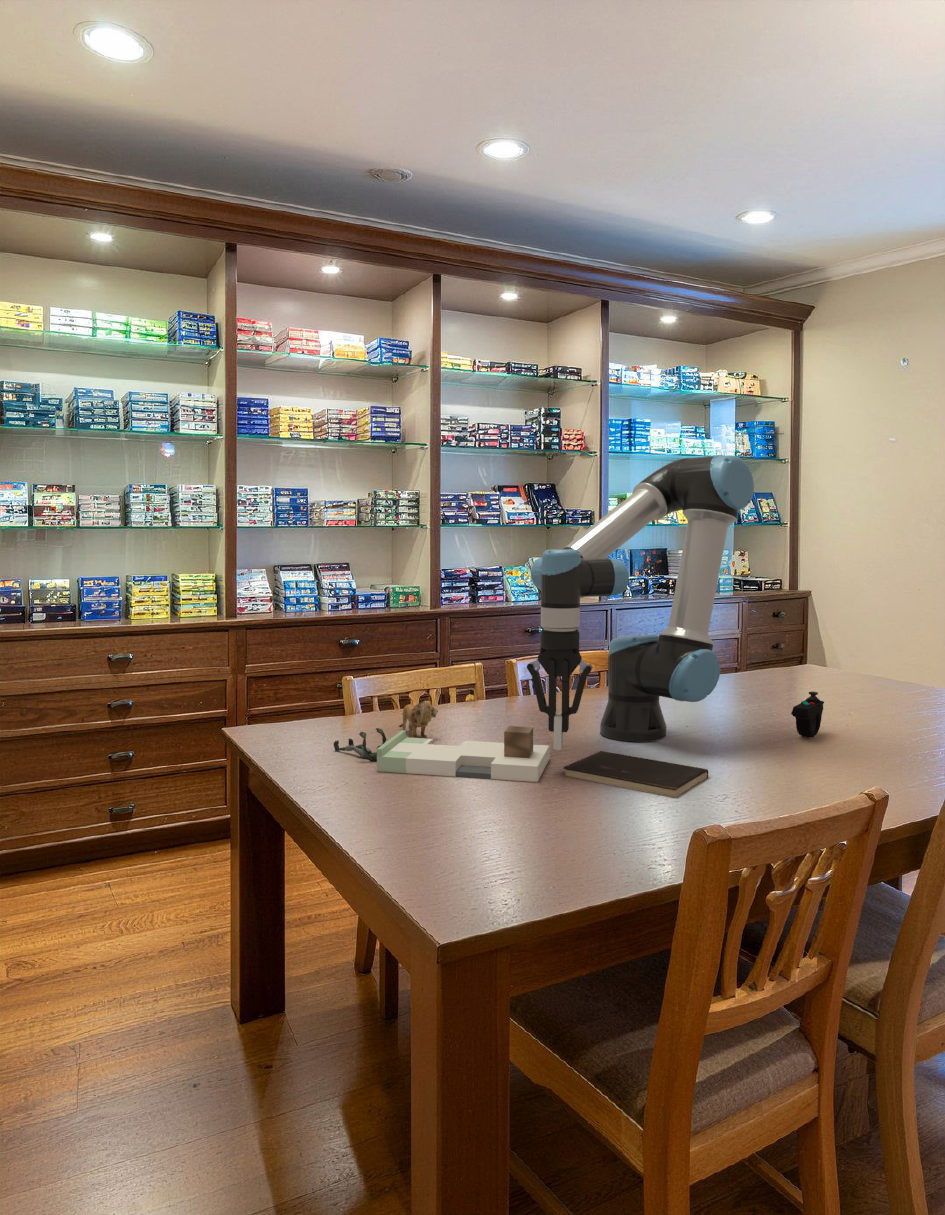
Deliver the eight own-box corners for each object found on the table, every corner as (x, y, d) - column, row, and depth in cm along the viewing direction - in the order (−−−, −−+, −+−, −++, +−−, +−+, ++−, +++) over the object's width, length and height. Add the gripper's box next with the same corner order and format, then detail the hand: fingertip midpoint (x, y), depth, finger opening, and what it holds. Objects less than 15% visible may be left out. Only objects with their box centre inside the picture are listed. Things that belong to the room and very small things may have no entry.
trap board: (549, 759, 177) (549, 738, 177) (537, 782, 162) (537, 758, 161) (401, 750, 185) (401, 730, 184) (377, 771, 169) (376, 749, 169)
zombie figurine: (352, 718, 187) (394, 731, 176) (352, 748, 188) (393, 763, 177) (331, 721, 183) (372, 734, 172) (331, 752, 184) (372, 768, 173)
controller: (825, 733, 199) (826, 691, 199) (807, 744, 190) (809, 699, 189) (806, 731, 202) (807, 689, 201) (788, 741, 193) (789, 697, 192)
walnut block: (533, 751, 172) (533, 727, 172) (529, 758, 167) (529, 733, 167) (508, 750, 173) (508, 726, 173) (504, 756, 169) (504, 731, 168)
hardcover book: (674, 801, 152) (675, 788, 152) (563, 778, 166) (563, 767, 166) (708, 780, 165) (708, 768, 165) (602, 760, 179) (602, 750, 179)
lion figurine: (440, 740, 194) (440, 701, 193) (420, 743, 191) (420, 703, 190) (408, 727, 206) (408, 690, 205) (388, 730, 203) (388, 693, 202)
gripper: (595, 627, 168) (593, 745, 171) (529, 625, 171) (528, 741, 174) (592, 632, 161) (589, 754, 163) (523, 629, 164) (522, 750, 166)
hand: (558, 747), depth 168 cm, fingers closed
